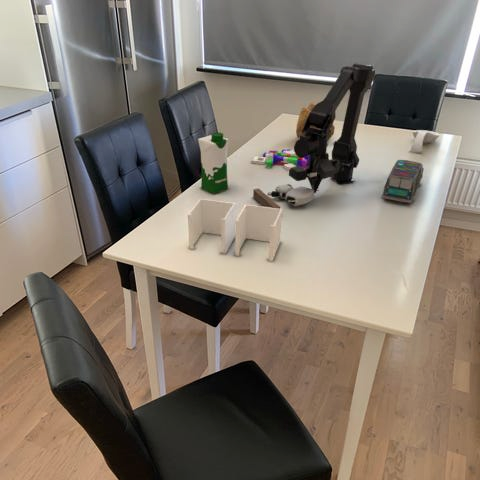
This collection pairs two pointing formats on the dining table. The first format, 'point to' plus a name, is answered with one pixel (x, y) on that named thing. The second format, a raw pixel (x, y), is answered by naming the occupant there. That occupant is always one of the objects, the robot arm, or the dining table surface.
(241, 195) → the dining table surface
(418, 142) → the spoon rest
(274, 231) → the storage bins
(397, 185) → the toy van
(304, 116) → the rough brown rock
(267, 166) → the building block set
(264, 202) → the walnut kerb
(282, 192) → the robot toy
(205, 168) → the milk carton
